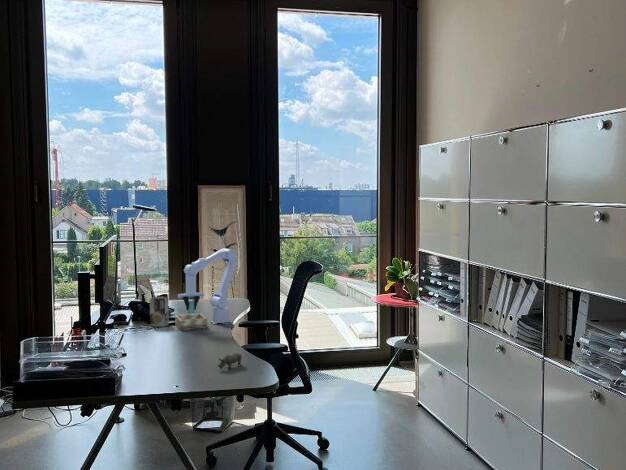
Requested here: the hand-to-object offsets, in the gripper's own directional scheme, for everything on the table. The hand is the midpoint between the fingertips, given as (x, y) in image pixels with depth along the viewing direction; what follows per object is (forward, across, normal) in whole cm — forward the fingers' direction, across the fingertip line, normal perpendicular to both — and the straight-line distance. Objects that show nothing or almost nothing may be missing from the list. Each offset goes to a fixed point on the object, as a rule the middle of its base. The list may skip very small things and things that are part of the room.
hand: (191, 309), depth 331 cm
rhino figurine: (+10, -2, -84) cm, 85 cm away
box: (+10, 0, 0) cm, 10 cm away
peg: (+2, 0, 0) cm, 2 cm away
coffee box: (+10, -16, +11) cm, 22 cm away
